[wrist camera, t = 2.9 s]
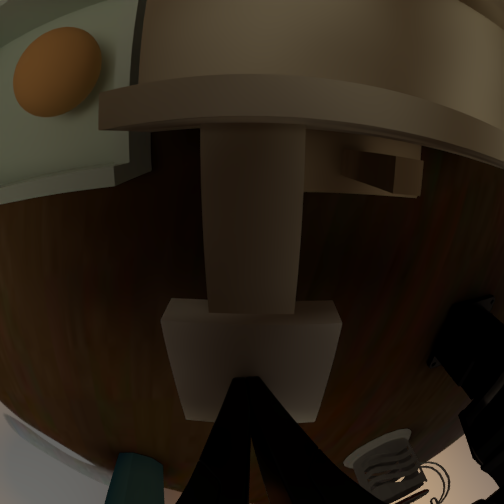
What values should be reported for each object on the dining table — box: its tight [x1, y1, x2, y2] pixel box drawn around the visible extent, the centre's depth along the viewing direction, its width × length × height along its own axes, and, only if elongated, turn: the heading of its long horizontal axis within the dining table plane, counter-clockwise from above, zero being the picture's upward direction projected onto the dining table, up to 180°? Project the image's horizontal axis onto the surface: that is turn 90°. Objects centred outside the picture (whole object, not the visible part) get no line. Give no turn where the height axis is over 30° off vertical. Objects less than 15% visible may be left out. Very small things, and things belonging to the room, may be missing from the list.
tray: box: [0, 0, 152, 204], centre depth 7 cm, size 11×10×4 cm
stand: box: [304, 129, 424, 198], centre depth 8 cm, size 8×12×5 cm, turn 0°
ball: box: [13, 27, 102, 117], centre depth 7 cm, size 4×4×4 cm
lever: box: [98, 0, 504, 423], centre depth 6 cm, size 16×17×4 cm
